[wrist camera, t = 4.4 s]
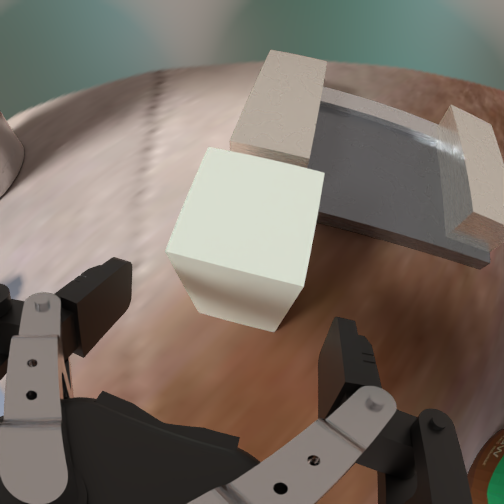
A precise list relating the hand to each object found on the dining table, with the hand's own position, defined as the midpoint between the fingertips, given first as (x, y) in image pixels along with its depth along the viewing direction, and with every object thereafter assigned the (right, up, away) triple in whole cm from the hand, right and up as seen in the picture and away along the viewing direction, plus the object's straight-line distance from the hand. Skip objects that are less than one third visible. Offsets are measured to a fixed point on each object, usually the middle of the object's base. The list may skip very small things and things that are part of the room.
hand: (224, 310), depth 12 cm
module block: (+1, 0, +9) cm, 9 cm away
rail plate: (+12, +10, +14) cm, 20 cm away
